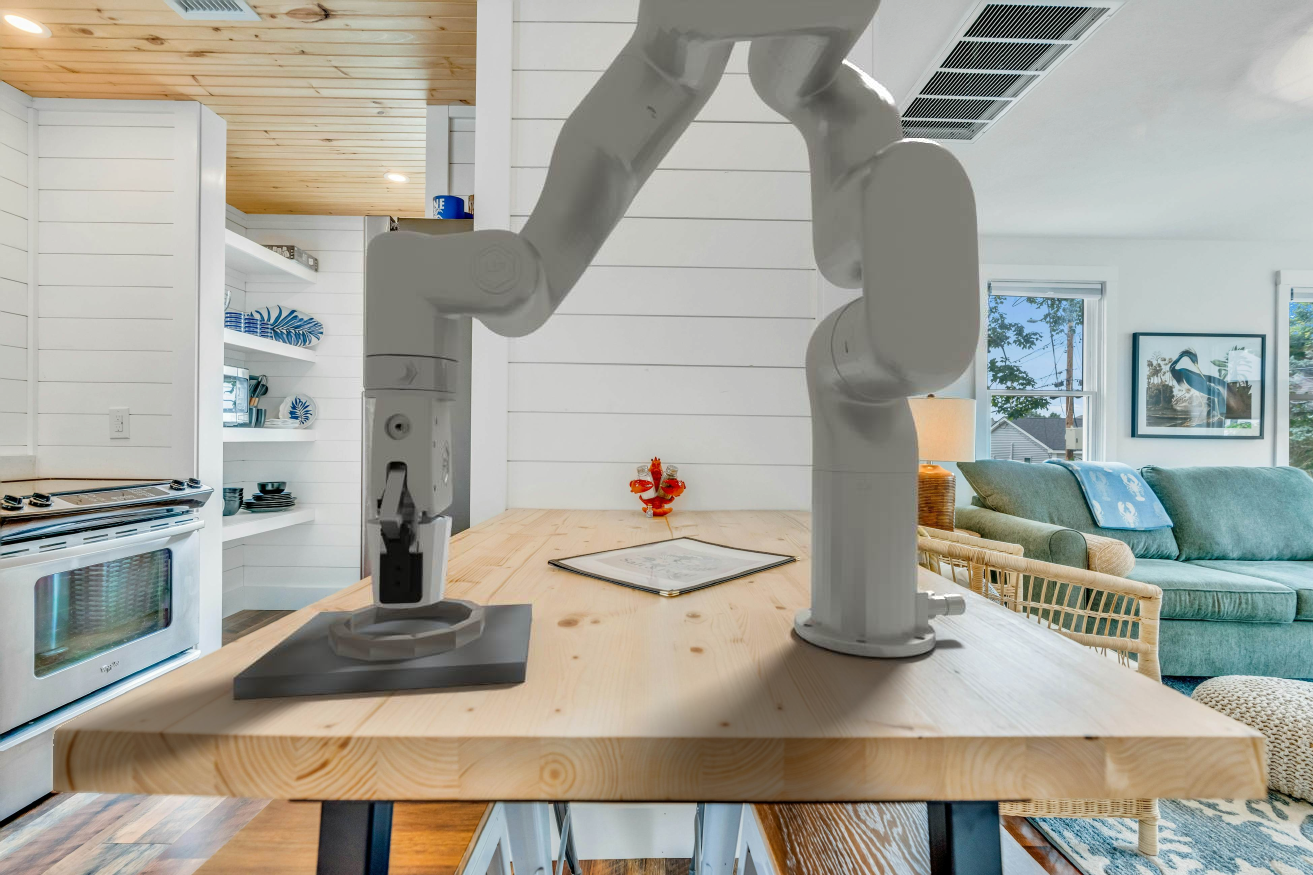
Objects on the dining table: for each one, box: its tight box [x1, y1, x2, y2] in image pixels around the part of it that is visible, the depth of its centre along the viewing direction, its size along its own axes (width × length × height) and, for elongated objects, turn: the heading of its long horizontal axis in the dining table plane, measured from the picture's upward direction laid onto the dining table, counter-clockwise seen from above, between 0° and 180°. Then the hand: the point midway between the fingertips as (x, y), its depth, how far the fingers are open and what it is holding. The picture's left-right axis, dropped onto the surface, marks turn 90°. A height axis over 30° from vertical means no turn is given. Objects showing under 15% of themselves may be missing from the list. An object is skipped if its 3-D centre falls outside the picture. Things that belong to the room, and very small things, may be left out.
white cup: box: [366, 514, 453, 609], centre depth 51 cm, size 7×7×7 cm
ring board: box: [232, 597, 533, 700], centre depth 52 cm, size 20×16×3 cm
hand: (410, 590), depth 52 cm, fingers closed on white cup, 5 cm apart
